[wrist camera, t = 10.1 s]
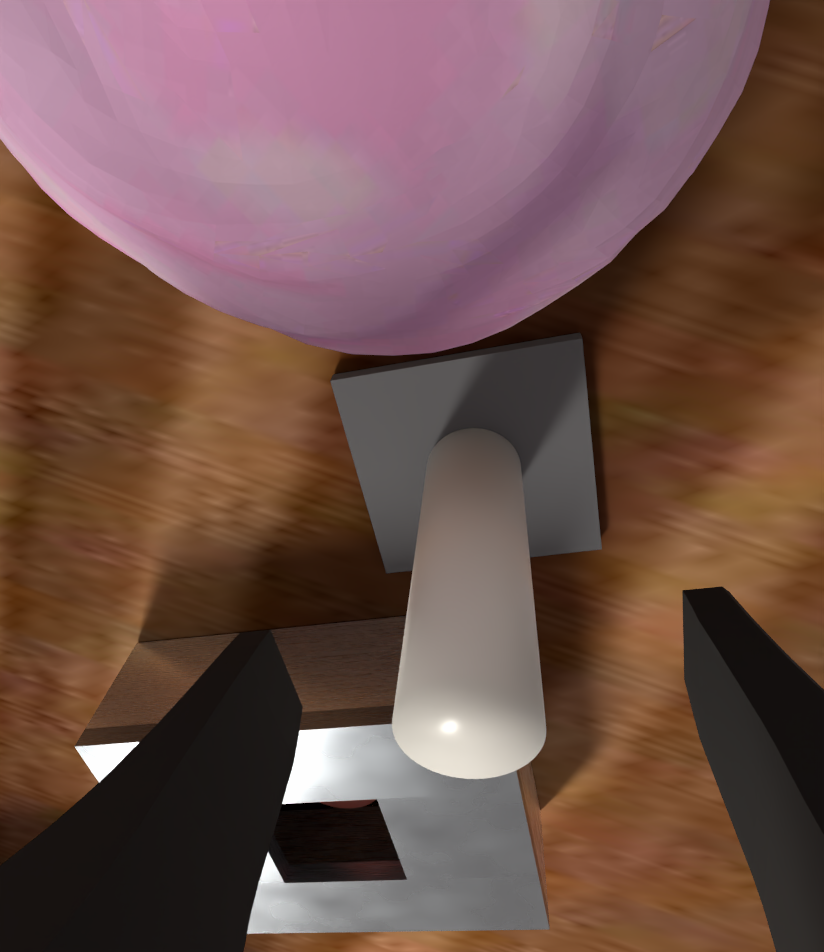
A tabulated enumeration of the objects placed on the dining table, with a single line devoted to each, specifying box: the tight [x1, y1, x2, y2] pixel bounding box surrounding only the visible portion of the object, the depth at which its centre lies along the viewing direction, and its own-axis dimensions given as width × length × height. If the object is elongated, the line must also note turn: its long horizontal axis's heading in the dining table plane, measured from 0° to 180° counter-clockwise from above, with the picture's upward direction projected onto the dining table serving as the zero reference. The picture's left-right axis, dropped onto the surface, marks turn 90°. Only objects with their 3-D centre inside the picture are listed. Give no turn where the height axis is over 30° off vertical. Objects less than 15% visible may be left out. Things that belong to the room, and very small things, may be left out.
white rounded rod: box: [392, 428, 546, 779], centre depth 14 cm, size 2×2×8 cm
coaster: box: [331, 333, 602, 574], centre depth 18 cm, size 6×6×1 cm
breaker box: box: [75, 616, 550, 934], centre depth 22 cm, size 12×10×4 cm
